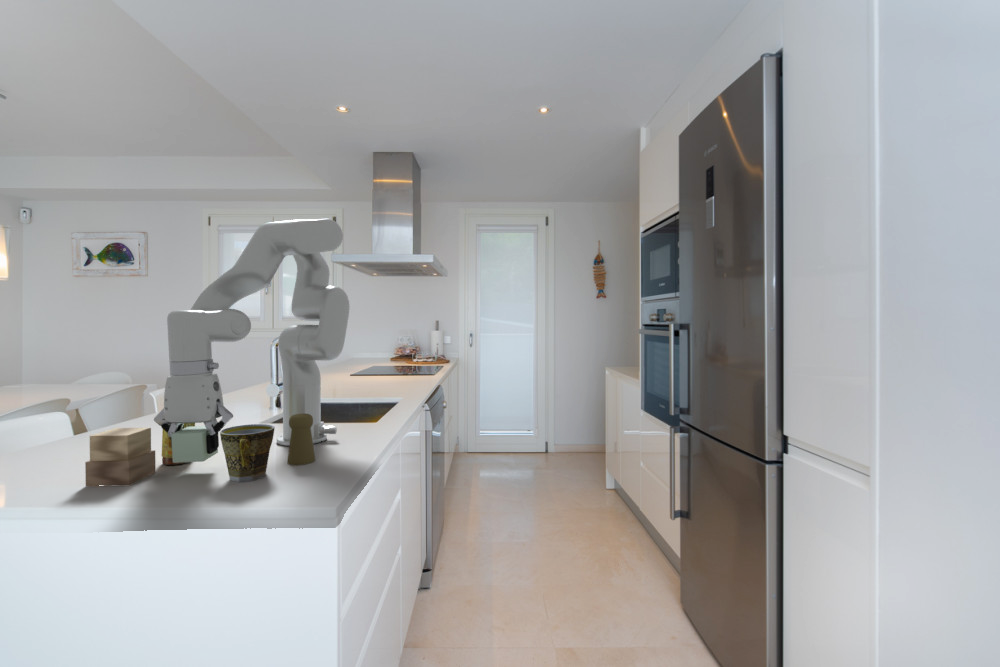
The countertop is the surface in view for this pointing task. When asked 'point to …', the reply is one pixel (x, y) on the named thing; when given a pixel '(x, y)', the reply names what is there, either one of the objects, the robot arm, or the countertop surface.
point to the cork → (301, 440)
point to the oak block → (120, 444)
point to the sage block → (190, 445)
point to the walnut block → (120, 470)
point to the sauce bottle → (170, 447)
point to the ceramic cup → (247, 450)
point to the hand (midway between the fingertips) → (195, 451)
